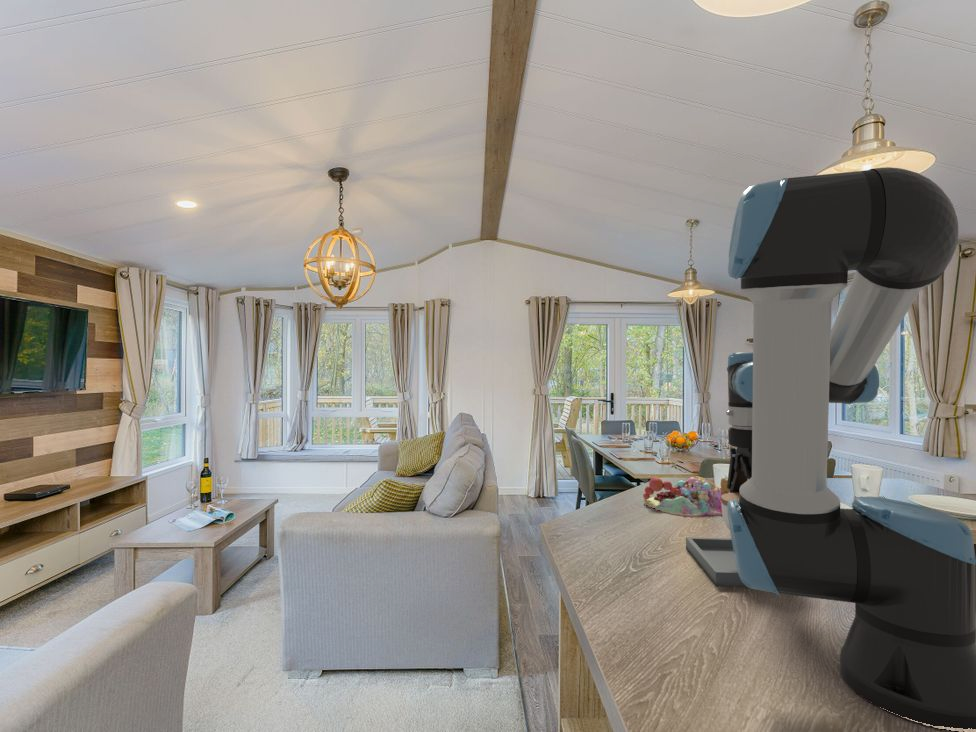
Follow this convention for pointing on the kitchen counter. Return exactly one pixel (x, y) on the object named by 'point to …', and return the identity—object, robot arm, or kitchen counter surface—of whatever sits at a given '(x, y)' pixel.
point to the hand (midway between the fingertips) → (749, 534)
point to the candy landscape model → (686, 496)
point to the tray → (715, 559)
